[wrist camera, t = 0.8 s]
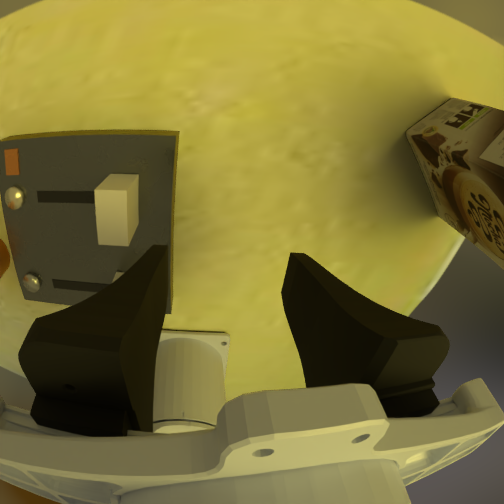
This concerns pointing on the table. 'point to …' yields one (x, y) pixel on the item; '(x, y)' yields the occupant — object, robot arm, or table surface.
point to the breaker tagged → (117, 209)
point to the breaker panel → (82, 207)
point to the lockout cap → (4, 258)
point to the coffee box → (465, 170)
